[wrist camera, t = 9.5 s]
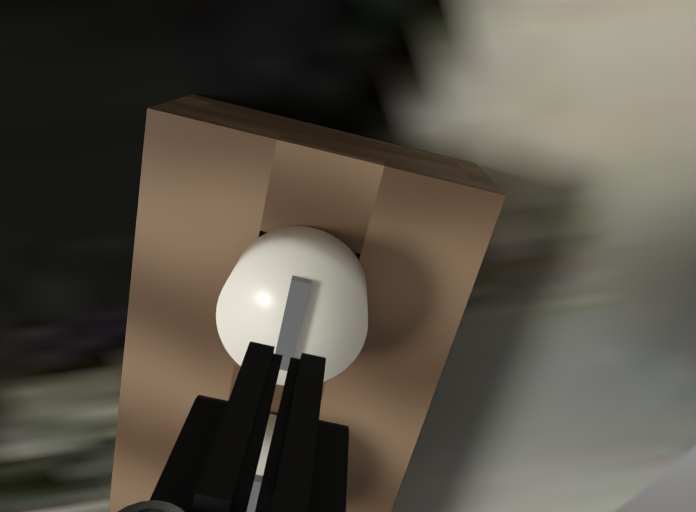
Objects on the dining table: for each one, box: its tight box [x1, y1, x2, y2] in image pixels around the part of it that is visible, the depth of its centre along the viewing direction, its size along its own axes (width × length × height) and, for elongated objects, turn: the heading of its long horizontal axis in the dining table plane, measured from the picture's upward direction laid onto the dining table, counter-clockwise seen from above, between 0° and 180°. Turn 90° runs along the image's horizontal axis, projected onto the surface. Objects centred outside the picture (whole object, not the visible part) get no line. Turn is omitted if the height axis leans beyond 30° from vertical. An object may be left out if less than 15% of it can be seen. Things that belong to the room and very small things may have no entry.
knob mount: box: [109, 94, 506, 512], centre depth 24 cm, size 26×12×5 cm, turn 166°
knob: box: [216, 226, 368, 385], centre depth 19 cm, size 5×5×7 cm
